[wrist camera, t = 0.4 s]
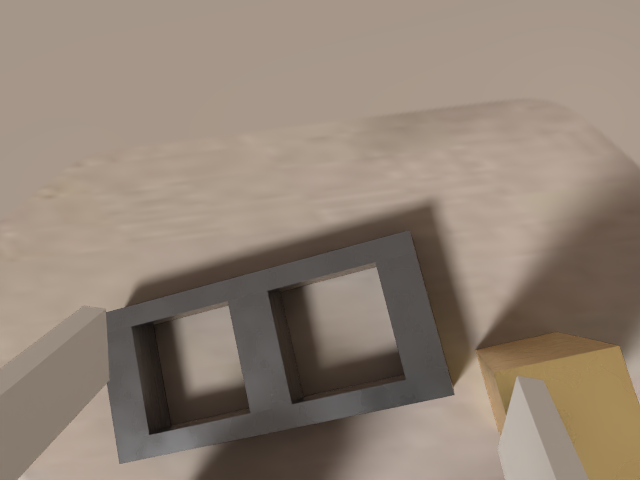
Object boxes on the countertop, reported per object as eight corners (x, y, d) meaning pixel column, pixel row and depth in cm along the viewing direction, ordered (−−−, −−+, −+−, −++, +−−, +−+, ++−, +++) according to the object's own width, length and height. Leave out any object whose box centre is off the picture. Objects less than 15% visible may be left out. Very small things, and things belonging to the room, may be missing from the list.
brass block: (583, 414, 27) (663, 475, 18) (498, 430, 28) (529, 497, 18) (557, 331, 28) (619, 345, 18) (475, 349, 29) (493, 372, 19)
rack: (453, 387, 29) (454, 395, 26) (143, 452, 33) (119, 463, 30) (411, 235, 30) (409, 230, 28) (120, 314, 34) (96, 315, 32)
